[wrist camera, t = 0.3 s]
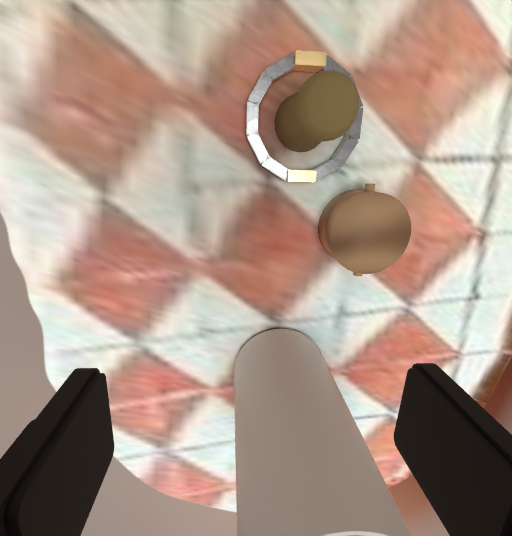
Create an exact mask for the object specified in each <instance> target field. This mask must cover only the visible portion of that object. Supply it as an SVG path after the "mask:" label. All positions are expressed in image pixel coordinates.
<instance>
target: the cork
mask: <svg viewBox="0 0 512 536" xmlns="http://www.w3.org/2000/svg"><path fill="white" fill-rule="evenodd" d="M358 110H359V95H358V92H357V88H356V86H355V85H354V83H353V82H352V80H351V79H350V78H349V77H348V76H346V75H345V74H344V73H342V72H338V71H334V70H330V71H321V72H319V73H317V74H315V75H313V76H311V77H310V78H309V79H308V80H307V81H306V82H305V83H304V84H303V86H302V87H301V89H300V91H299V93H296V94H294V95H292V96H290V97H288V98H287V99H286V100H285V101H284V102H283V103H282V104H281V105H280V107H279V109H278V111H277V113H276V118H275V131H276V133H277V136H278V138H279V140H280V141H281V143H282V144H283V145H284V146H285V147H287V148H288V149H290V150H292V151H296V152H305V151H309V150H311V149H313V148H315V147H316V146H317V145H318V144H319V143H320V142H322V141H329V140H334V139H336V138H338V137H340V136H342V135H343V134H344V133H345V132H346V131H348V130H349V129H350V127H351V126H352V124H353V122H354V121H355V119H356V117H357V113H358Z"/></svg>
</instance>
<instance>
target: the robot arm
mask: <svg viewBox="0 0 512 536" xmlns="http://www.w3.org/2000/svg"><path fill="white" fill-rule="evenodd" d="M394 441H395V445H396V447H397V449H398V451H399V452H400V454H401V456H402V457H403V459H404V460H405V462H406V464H407V465H408V467H409V469H410V470H411V472H412V474H413V475H414V477H415V479H416V480H417V482H418V484H419V485H420V487H421V488H422V490H423V492H424V494H425V495H426V497H427V498H428V500H429V502H430V503H431V505H432V507H433V508H434V510H435V512H436V513H437V515H438V516H439V518H440V520H441V522H442V523H443V525H444V526H445V528H446V530H447V531H448V533H449V535H450V536H512V435H511V434H510V433H509V432H508V431H507V430H506V429H505V428H504V427H503V426H502V425H501V424H499V423H498V422H497V421H496V420H495V419H494V418H493V417H492V416H491V415H490V414H489V413H488V412H487V411H486V410H484V409H483V408H482V407H481V406H480V405H479V404H478V403H477V402H476V401H475V400H474V399H473V398H472V397H471V396H469V395H468V394H467V393H466V392H465V391H464V390H463V389H462V388H461V387H460V386H459V385H458V384H457V383H456V382H454V381H453V380H452V379H451V378H450V377H449V376H448V375H447V374H446V373H445V372H444V371H443V370H442V369H441V368H439V367H438V366H437V365H436V364H433V363H416V364H414V365H413V366H412V368H410V369H409V370H408V372H407V376H406V381H405V386H404V390H403V395H402V399H401V404H400V409H399V413H398V418H397V422H396V427H395V432H394ZM113 452H114V440H113V431H112V423H111V415H110V407H109V399H108V391H107V383H106V376H105V374H104V373H100V371H99V370H98V369H97V368H77V369H75V370H74V371H73V372H72V373H71V375H70V376H69V377H68V378H67V380H66V381H65V382H64V383H63V385H62V386H61V387H60V389H59V390H58V391H57V392H56V394H55V395H54V396H53V398H52V399H51V400H50V401H49V403H48V404H47V405H46V406H45V408H44V409H43V410H42V412H41V413H40V414H39V415H38V417H37V418H36V419H35V420H33V421H31V422H30V423H29V424H28V425H27V426H26V428H25V429H24V430H23V431H22V433H21V434H20V435H19V437H18V438H17V439H16V440H15V441H14V443H13V444H12V445H11V446H10V448H9V449H8V450H7V452H6V453H5V454H4V455H3V456H2V458H1V459H0V536H80V535H81V533H82V530H83V528H84V526H85V523H86V521H87V518H88V516H89V513H90V511H91V509H92V506H93V504H94V501H95V499H96V496H97V494H98V491H99V489H100V487H101V484H102V482H103V479H104V477H105V474H106V472H107V469H108V467H109V465H110V462H111V459H112V457H113Z"/></svg>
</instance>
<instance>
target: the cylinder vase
mask: <svg viewBox="0 0 512 536" xmlns="http://www.w3.org/2000/svg"><path fill="white" fill-rule="evenodd" d="M234 402H235V449H236V496H237V536H411V534H410V532H409V530H408V528H407V526H406V524H405V522H404V520H403V518H402V516H401V514H400V512H399V510H398V508H397V506H396V504H395V501H394V499H393V498H392V495H391V493H390V491H389V489H388V487H387V485H386V483H385V481H384V479H383V477H382V475H381V473H380V471H379V469H378V467H377V465H376V463H375V461H374V459H373V457H372V455H371V453H370V451H369V449H368V447H367V445H366V443H365V441H364V439H363V437H362V435H361V433H360V431H359V429H358V427H357V425H356V423H355V421H354V419H353V417H352V415H351V413H350V411H349V409H348V407H347V405H346V403H345V401H344V399H343V397H342V395H341V393H340V391H339V389H338V387H337V385H336V383H335V381H334V379H333V377H332V375H331V373H330V371H329V369H328V367H327V365H326V363H325V361H324V358H323V356H322V354H321V352H320V350H319V349H318V347H317V346H316V344H315V343H314V342H313V341H312V340H311V339H310V338H309V337H307V336H306V335H304V334H302V333H300V332H297V331H294V330H290V329H273V330H268V331H265V332H262V333H260V334H258V335H256V336H254V337H253V338H251V339H250V340H249V341H248V342H247V343H246V344H245V345H244V346H243V347H242V348H241V350H240V351H239V353H238V355H237V358H236V360H235V364H234Z"/></svg>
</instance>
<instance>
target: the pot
mask: <svg viewBox="0 0 512 536" xmlns="http://www.w3.org/2000/svg"><path fill="white" fill-rule="evenodd" d="M374 188H375V184H365V190H351V191H347V192H344V193H342V194H340V195H338V196H336V197H335V198H334V199H332V200H331V201H330V202H329V203H328V205H327V206H326V207H325V209H324V211H323V212H322V215H321V217H320V220H319V226H318V233H319V239H320V242H321V244H322V246H323V248H324V249H325V250H326V252H327V253H328V254H330V255H331V256H332V257H333V258H334V259H335V260H337V261H338V262H339V263H340V264H341V265H342V266H344V267H345V268H347V269H348V270H350V271H353V272H354V273H353V275H355V276H362V274H371V273H376V272H379V271H382V270H384V269H386V268H388V267H389V266H391V265H392V264H394V263H395V262H396V261H397V260H398V259H399V258H400V256H401V255H402V254H403V252H404V251H405V249H406V247H407V245H408V242H409V239H410V234H411V222H410V217H409V214H408V212H407V210H406V208H405V207H404V206H403V204H402V203H401V202H400V201H399V200H397V199H396V198H394V197H393V196H390V195H388V194H384V193H378V192H374Z"/></svg>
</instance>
